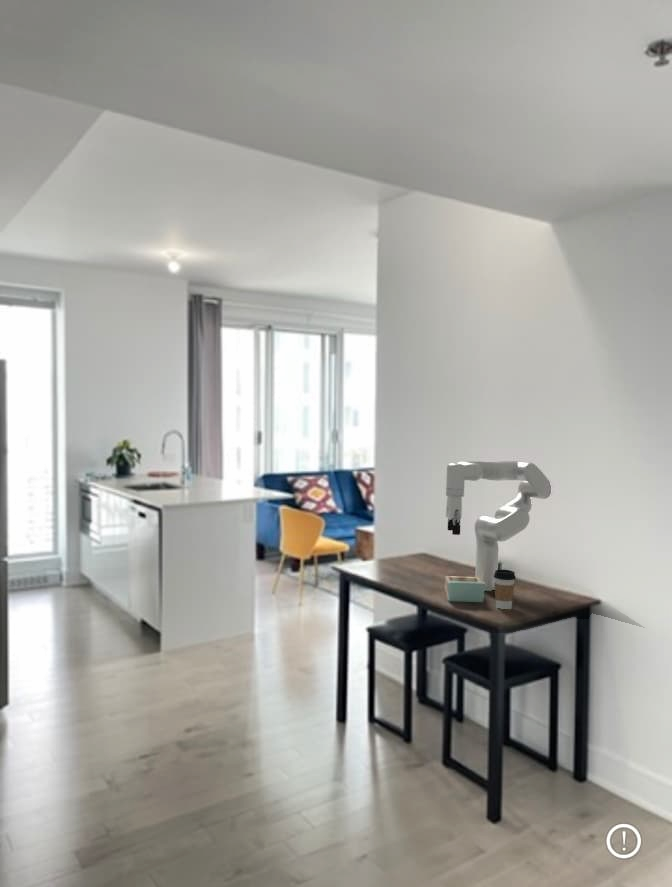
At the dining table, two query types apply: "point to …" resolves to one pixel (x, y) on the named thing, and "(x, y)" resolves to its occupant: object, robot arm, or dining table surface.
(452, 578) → the crate
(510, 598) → the coffee cup
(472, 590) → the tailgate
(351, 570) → the dining table surface
